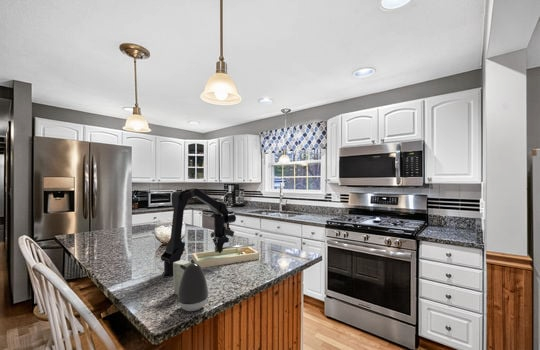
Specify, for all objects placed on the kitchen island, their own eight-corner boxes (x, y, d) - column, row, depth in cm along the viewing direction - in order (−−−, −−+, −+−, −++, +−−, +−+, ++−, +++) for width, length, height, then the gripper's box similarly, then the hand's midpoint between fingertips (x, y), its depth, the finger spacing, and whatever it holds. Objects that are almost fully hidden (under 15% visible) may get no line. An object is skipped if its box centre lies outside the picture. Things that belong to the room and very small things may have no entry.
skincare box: (192, 292, 99) (192, 261, 100) (183, 297, 96) (183, 264, 96) (182, 289, 103) (182, 259, 103) (172, 293, 99) (172, 262, 99)
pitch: (259, 259, 142) (259, 252, 142) (197, 268, 128) (197, 261, 128) (249, 252, 157) (248, 246, 157) (192, 259, 142) (192, 253, 143)
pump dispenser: (189, 299, 94) (189, 258, 94) (213, 302, 91) (213, 260, 91) (170, 312, 84) (170, 266, 84) (197, 317, 81) (197, 269, 81)
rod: (255, 253, 149) (255, 242, 150) (215, 258, 139) (215, 247, 140) (253, 251, 152) (253, 241, 152) (214, 257, 142) (214, 246, 142)
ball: (244, 254, 146) (248, 257, 147) (247, 249, 147) (252, 252, 148) (242, 253, 149) (246, 256, 150) (245, 248, 150) (250, 251, 151)
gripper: (237, 226, 137) (238, 254, 137) (228, 221, 154) (228, 247, 154) (217, 227, 132) (217, 257, 132) (210, 222, 149) (210, 249, 149)
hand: (219, 252), depth 142 cm, fingers closed on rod, 3 cm apart
